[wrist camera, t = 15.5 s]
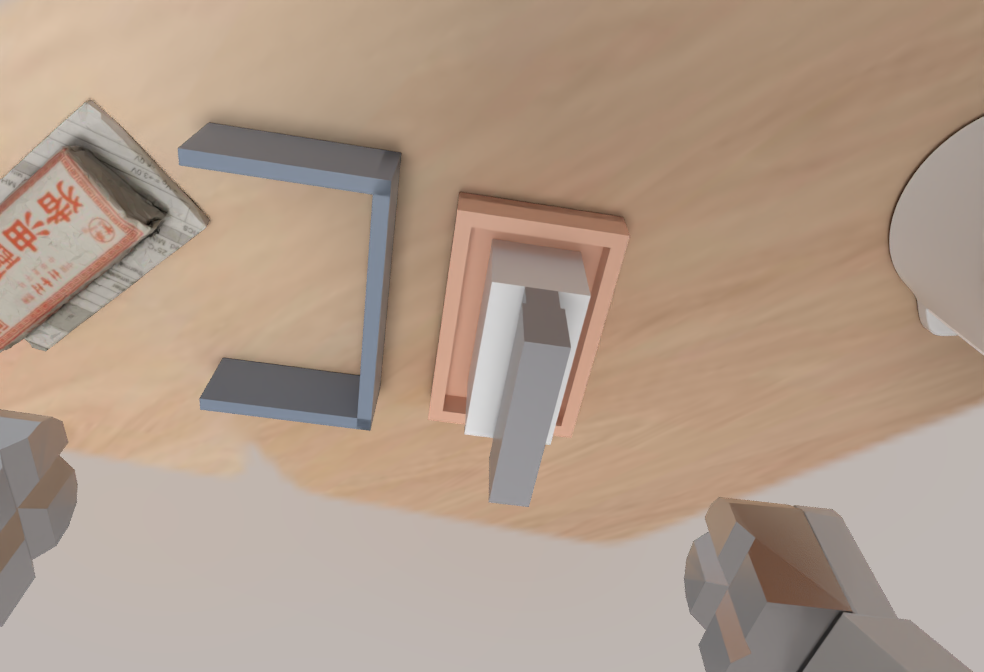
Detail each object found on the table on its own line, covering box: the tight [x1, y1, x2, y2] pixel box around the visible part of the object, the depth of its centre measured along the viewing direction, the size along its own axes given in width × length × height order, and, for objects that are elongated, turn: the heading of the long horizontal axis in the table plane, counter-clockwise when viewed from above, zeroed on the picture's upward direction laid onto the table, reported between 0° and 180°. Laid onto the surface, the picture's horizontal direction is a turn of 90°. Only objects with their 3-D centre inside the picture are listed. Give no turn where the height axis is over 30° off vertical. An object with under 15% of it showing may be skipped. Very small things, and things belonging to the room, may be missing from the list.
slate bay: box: [178, 123, 401, 431], centre depth 47 cm, size 12×19×5 cm, turn 171°
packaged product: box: [0, 101, 209, 352], centre depth 46 cm, size 18×5×10 cm
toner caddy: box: [464, 239, 591, 507], centre depth 45 cm, size 6×12×12 cm, turn 171°
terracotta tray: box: [428, 192, 630, 438], centre depth 49 cm, size 11×17×3 cm, turn 171°
